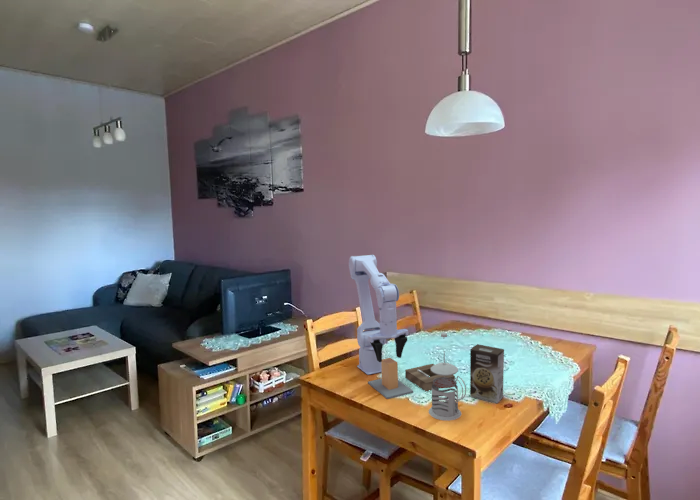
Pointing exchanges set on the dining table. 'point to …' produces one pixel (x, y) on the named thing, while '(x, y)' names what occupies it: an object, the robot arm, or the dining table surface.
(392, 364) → the orange brown block
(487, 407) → the dining table surface
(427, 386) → the brown wooden tray
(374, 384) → the mat
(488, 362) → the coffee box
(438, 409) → the french press
